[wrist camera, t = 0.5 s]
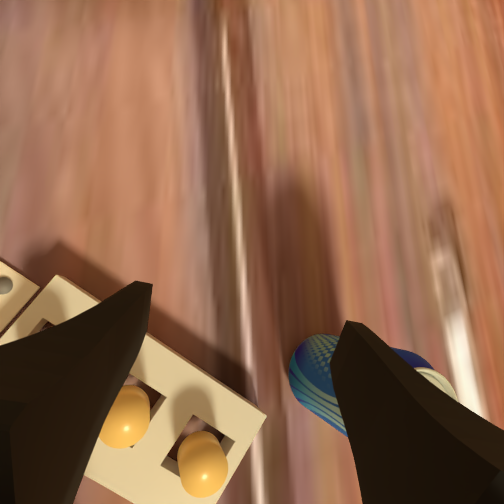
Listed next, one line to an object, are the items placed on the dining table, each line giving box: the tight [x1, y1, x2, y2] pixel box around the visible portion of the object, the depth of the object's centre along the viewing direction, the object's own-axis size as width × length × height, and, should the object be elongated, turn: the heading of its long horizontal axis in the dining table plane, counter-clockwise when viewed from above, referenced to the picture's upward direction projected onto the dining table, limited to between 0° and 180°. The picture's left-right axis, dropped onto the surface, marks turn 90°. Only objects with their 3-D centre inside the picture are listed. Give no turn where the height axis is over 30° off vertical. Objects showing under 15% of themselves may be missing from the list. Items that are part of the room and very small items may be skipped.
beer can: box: [289, 334, 458, 437], centre depth 32 cm, size 8×8×16 cm
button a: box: [177, 431, 228, 498], centre depth 30 cm, size 4×4×3 cm
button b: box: [99, 385, 150, 449], centre depth 28 cm, size 4×4×3 cm
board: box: [0, 275, 267, 504], centre depth 32 cm, size 12×24×3 cm, turn 53°
